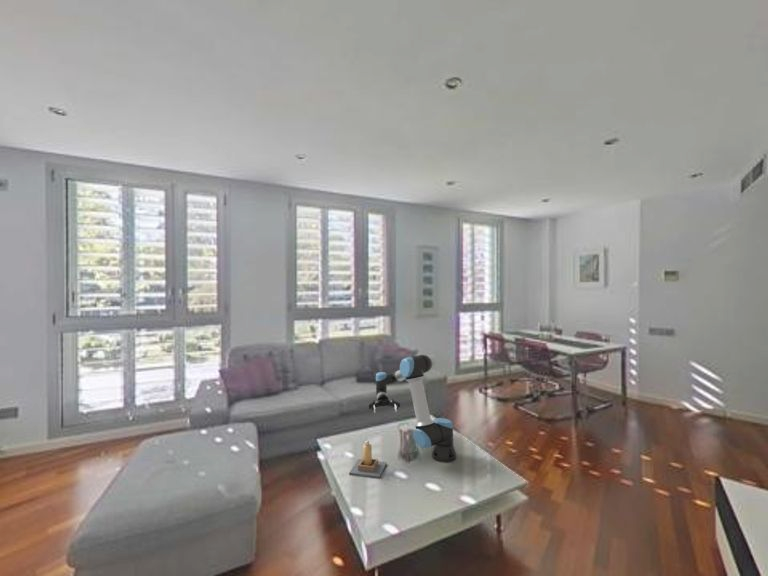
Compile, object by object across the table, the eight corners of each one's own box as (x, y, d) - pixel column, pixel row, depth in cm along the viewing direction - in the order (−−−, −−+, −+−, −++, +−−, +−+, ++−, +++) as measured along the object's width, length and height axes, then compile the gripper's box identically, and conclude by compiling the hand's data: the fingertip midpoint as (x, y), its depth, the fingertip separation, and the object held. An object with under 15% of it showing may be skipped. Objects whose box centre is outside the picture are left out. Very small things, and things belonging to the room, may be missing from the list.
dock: (386, 464, 219) (386, 457, 219) (379, 478, 204) (379, 470, 204) (358, 461, 224) (358, 454, 224) (349, 474, 209) (349, 467, 209)
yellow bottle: (373, 467, 213) (372, 441, 213) (366, 470, 211) (365, 444, 210) (369, 464, 218) (368, 438, 217) (362, 466, 215) (361, 440, 214)
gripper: (400, 403, 249) (405, 415, 228) (364, 405, 247) (365, 417, 226) (400, 392, 249) (405, 403, 228) (364, 394, 247) (365, 405, 226)
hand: (385, 410), depth 227 cm, fingers open, 13 cm apart
